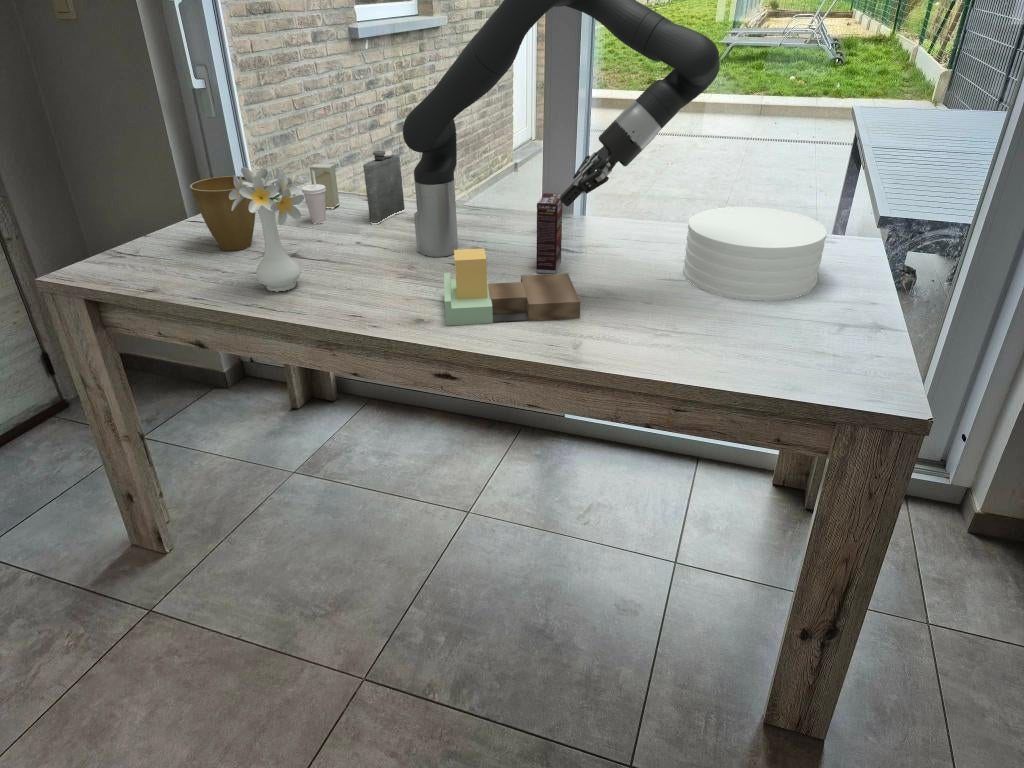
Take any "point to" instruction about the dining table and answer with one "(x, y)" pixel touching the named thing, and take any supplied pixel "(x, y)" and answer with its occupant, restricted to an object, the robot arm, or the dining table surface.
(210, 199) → the plant pot
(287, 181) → the flower vase
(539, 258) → the supplement box
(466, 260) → the block
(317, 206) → the smoothie
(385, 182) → the flask
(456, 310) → the pale green stepped block
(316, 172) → the skincare box
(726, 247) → the plate stack
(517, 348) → the dining table surface
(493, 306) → the board
